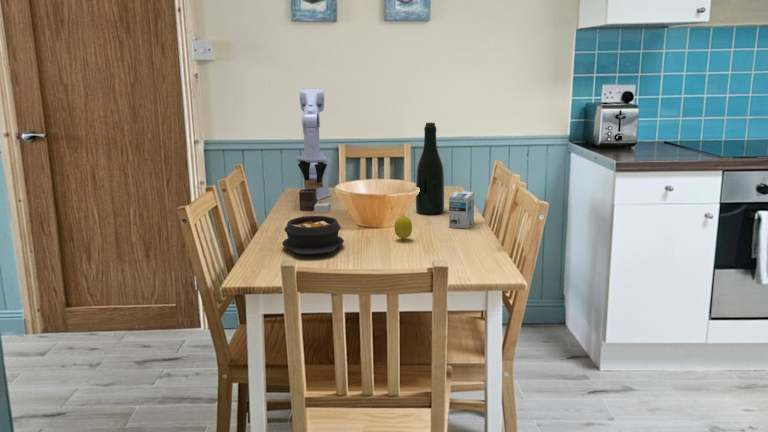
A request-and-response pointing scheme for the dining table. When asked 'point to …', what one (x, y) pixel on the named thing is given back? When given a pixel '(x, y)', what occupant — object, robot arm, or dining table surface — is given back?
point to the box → (307, 199)
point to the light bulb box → (461, 209)
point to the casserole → (312, 235)
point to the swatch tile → (325, 202)
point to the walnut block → (312, 184)
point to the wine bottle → (430, 176)
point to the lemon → (403, 227)
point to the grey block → (321, 207)
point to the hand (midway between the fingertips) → (313, 181)
